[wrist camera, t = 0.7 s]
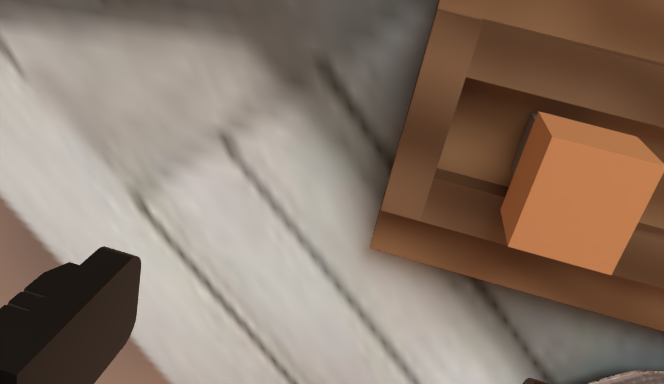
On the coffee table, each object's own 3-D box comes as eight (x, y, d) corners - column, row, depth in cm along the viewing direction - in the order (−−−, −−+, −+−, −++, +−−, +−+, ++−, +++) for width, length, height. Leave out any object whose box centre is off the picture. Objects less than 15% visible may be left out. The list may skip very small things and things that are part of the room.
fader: (527, 91, 26) (552, 136, 20) (614, 113, 26) (666, 166, 20) (494, 180, 28) (507, 246, 22) (575, 202, 28) (611, 275, 22)
